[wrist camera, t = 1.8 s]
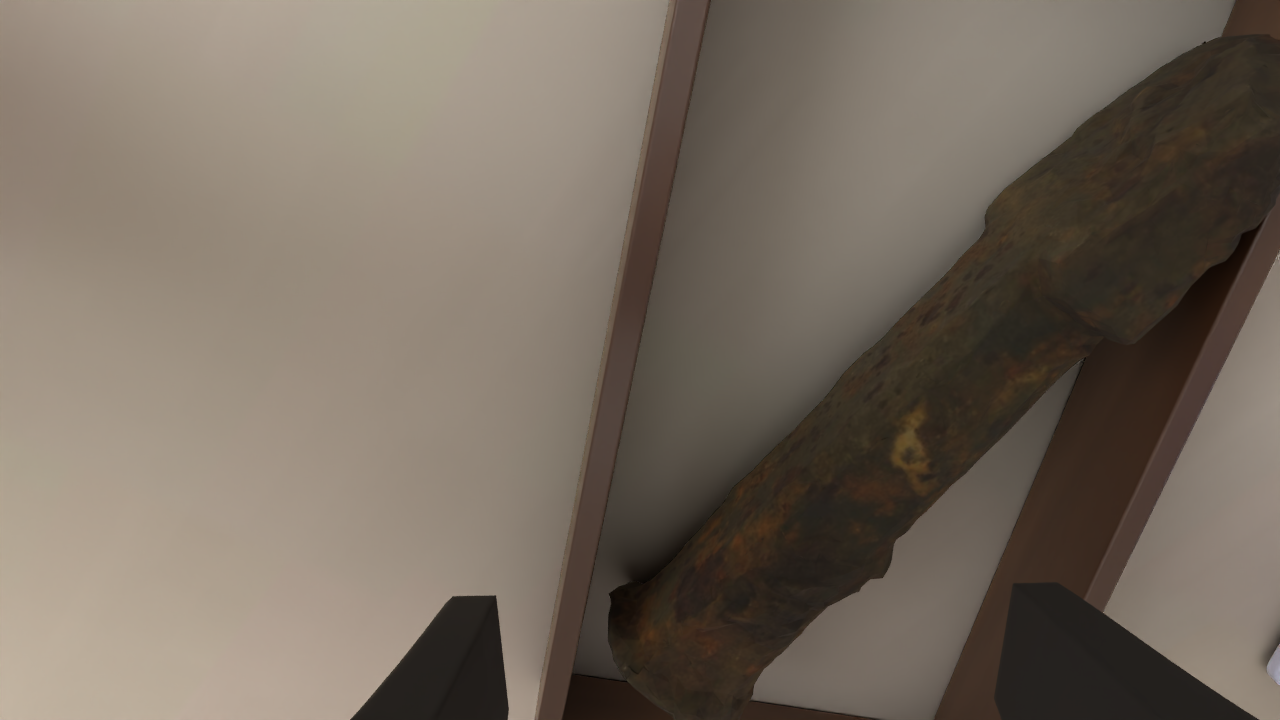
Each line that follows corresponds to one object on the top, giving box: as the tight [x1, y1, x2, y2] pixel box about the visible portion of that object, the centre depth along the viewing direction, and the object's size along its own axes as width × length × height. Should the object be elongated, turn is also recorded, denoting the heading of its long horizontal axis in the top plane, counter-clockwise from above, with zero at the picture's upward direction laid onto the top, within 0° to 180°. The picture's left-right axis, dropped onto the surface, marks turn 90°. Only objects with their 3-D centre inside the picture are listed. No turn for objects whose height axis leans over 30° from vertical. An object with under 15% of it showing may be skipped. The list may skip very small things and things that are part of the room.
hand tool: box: [608, 34, 1280, 720], centre depth 19 cm, size 19×4×5 cm, turn 140°
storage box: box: [535, 0, 1280, 720], centre depth 19 cm, size 12×23×4 cm, turn 169°
